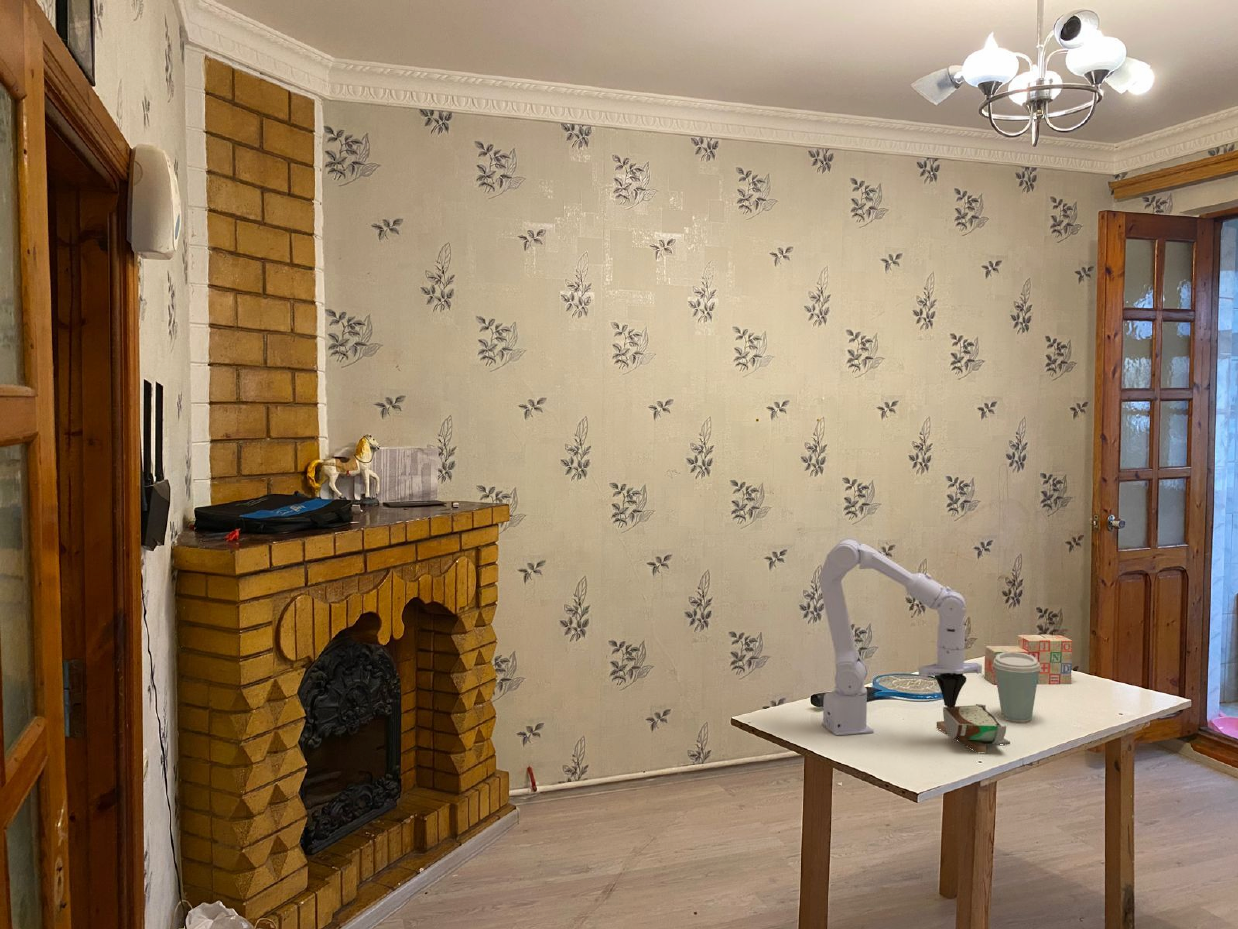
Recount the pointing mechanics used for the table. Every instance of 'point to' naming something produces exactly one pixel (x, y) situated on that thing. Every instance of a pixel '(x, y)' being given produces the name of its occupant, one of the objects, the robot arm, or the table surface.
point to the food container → (972, 724)
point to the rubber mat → (996, 743)
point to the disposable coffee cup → (1016, 684)
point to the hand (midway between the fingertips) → (949, 706)
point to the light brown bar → (970, 743)
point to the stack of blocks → (1038, 657)
